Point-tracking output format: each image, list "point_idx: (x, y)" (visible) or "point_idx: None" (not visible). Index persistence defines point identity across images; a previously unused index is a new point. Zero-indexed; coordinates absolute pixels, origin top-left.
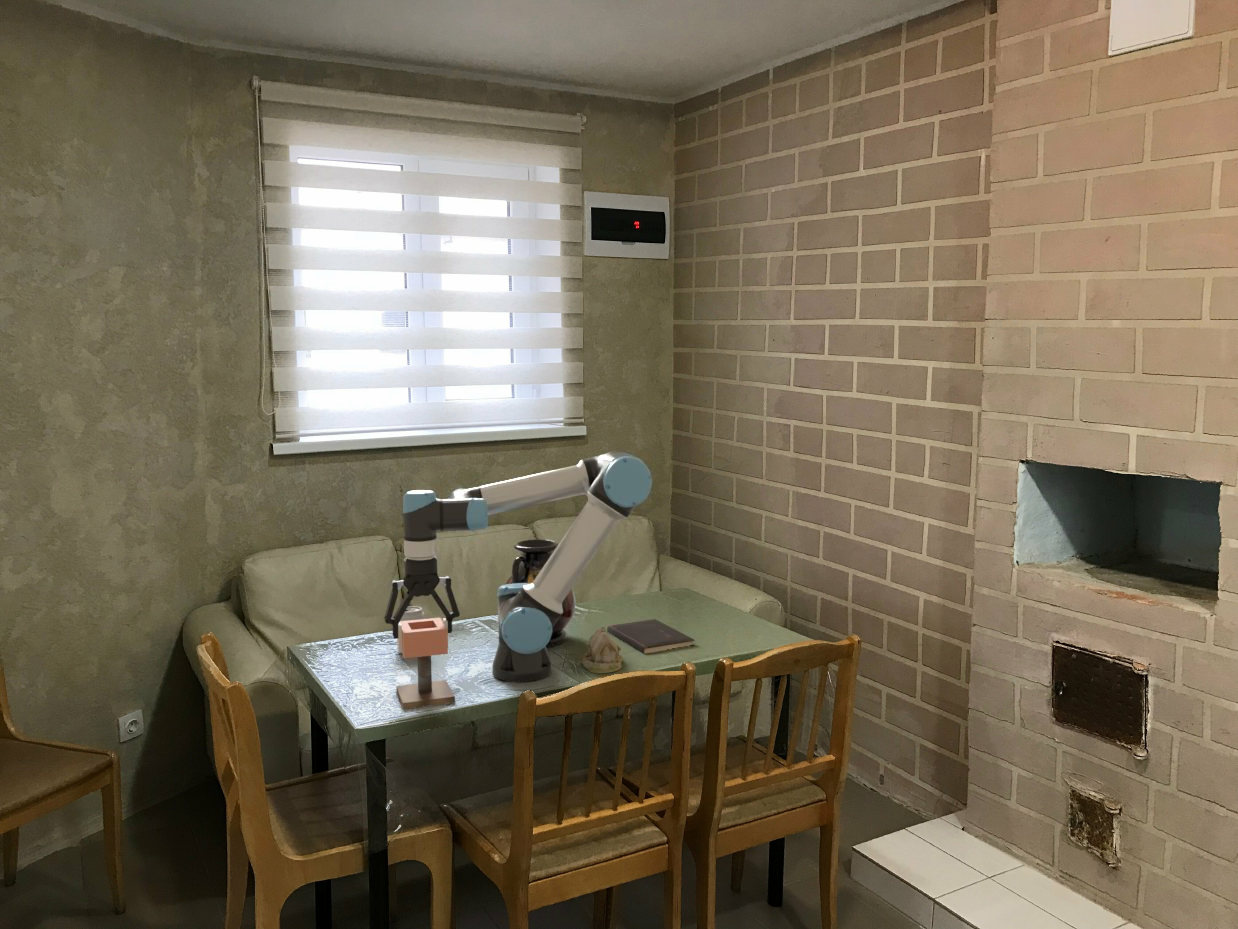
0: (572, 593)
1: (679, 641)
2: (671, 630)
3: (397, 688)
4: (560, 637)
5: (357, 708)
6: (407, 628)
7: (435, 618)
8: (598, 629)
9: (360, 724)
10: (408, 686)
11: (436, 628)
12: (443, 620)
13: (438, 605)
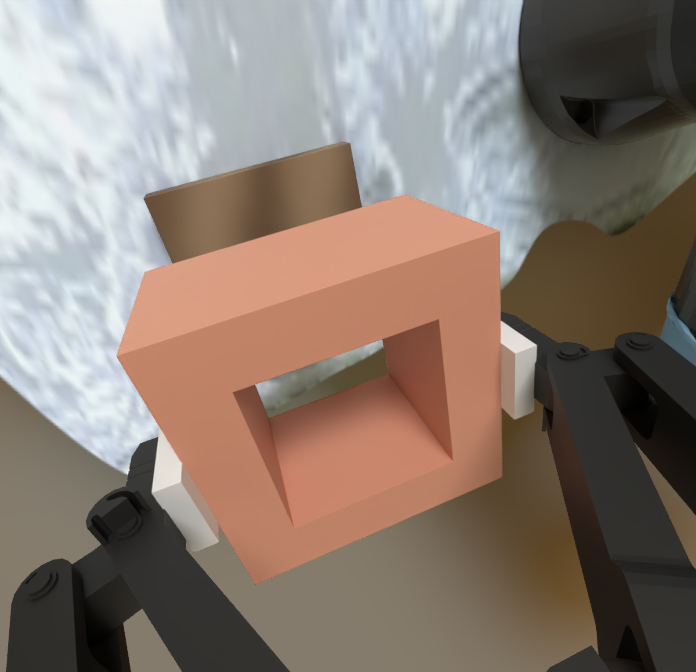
0: None
1: None
2: None
3: (158, 230)
4: None
5: (43, 355)
6: (261, 511)
7: (461, 259)
8: None
9: (117, 464)
10: (202, 208)
11: (447, 482)
12: (513, 387)
13: (573, 534)
